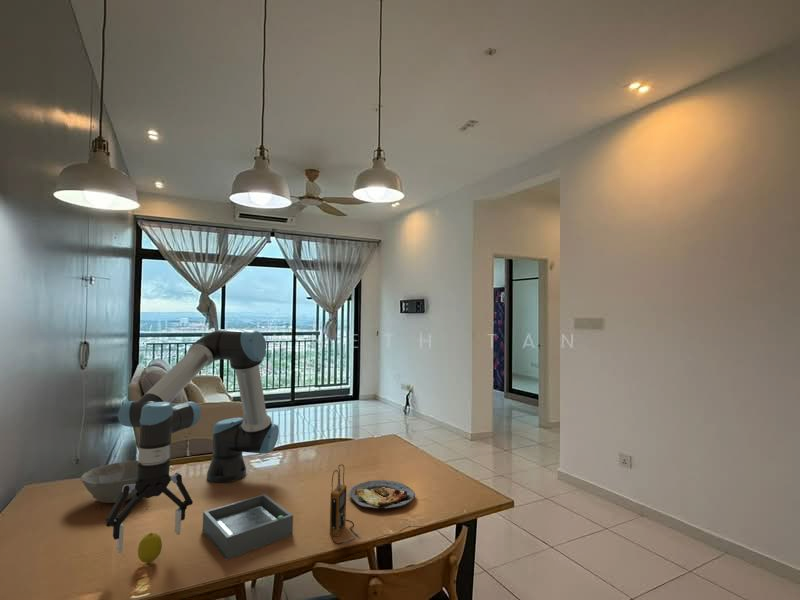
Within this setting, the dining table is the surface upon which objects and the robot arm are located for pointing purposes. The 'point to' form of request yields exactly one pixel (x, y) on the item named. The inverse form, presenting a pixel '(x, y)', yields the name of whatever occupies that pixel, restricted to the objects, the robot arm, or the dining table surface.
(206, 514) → the gray open box
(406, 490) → the food plate
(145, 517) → the dining table surface
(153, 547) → the lemon
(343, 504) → the multimeter
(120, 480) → the ceramic bowl
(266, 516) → the gray picture frame
